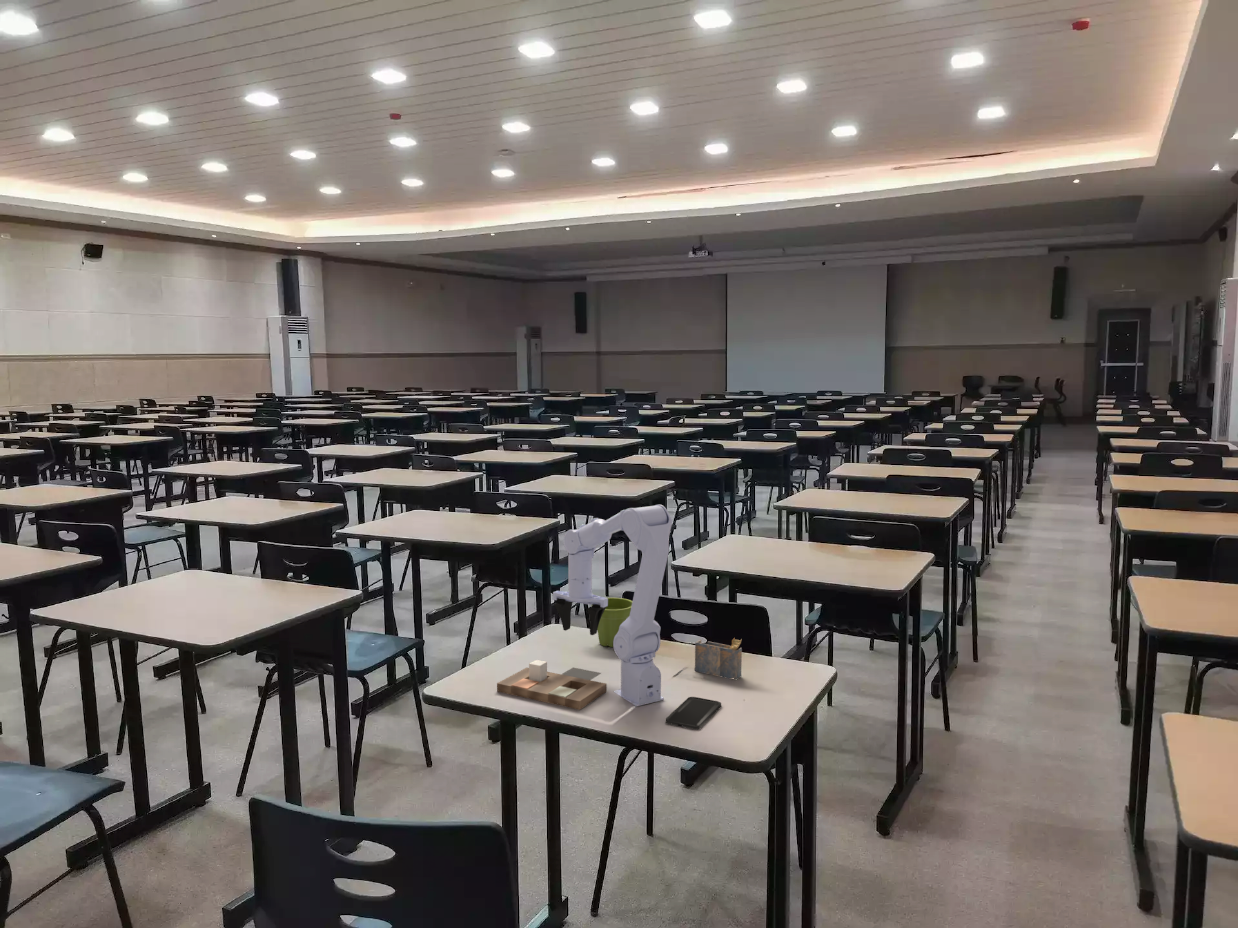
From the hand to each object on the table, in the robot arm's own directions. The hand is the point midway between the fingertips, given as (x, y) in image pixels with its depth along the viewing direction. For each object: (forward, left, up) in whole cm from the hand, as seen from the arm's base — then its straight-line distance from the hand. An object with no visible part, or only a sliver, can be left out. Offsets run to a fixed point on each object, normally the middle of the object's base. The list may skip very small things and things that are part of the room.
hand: (580, 631), depth 207 cm
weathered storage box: (-19, -28, -11) cm, 36 cm away
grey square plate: (-4, +3, -10) cm, 11 cm away
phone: (-36, -8, -10) cm, 38 cm away
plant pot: (+14, -18, -10) cm, 25 cm away
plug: (-5, +14, -10) cm, 18 cm away
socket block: (-10, +13, -10) cm, 19 cm away
